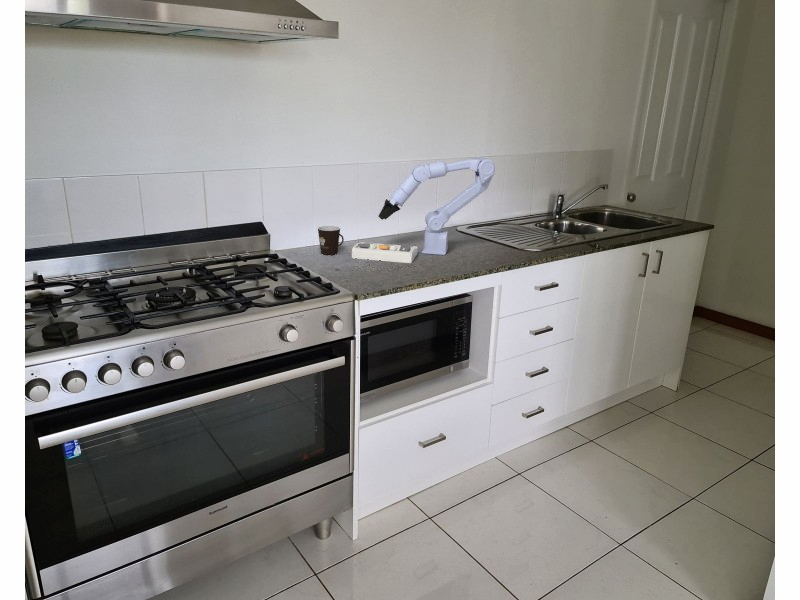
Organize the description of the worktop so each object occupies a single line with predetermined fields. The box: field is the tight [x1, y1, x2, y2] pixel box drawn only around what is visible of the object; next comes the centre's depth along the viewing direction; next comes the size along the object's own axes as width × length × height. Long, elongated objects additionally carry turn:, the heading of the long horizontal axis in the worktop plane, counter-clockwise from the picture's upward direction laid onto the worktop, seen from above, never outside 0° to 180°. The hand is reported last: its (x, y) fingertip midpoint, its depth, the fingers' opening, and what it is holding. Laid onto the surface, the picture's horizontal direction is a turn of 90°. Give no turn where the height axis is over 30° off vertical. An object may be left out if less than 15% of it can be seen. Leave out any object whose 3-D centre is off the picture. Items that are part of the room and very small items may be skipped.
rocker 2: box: [399, 243, 411, 252], centre depth 219 cm, size 3×6×2 cm, turn 169°
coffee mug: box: [317, 225, 345, 256], centre depth 222 cm, size 12×9×10 cm
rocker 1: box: [358, 242, 370, 248], centre depth 221 cm, size 3×6×2 cm, turn 169°
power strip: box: [351, 241, 419, 264], centre depth 223 cm, size 23×14×4 cm, turn 79°
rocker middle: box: [378, 245, 390, 250], centre depth 220 cm, size 3×6×2 cm, turn 169°
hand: (381, 218), depth 225 cm, fingers open, 7 cm apart
